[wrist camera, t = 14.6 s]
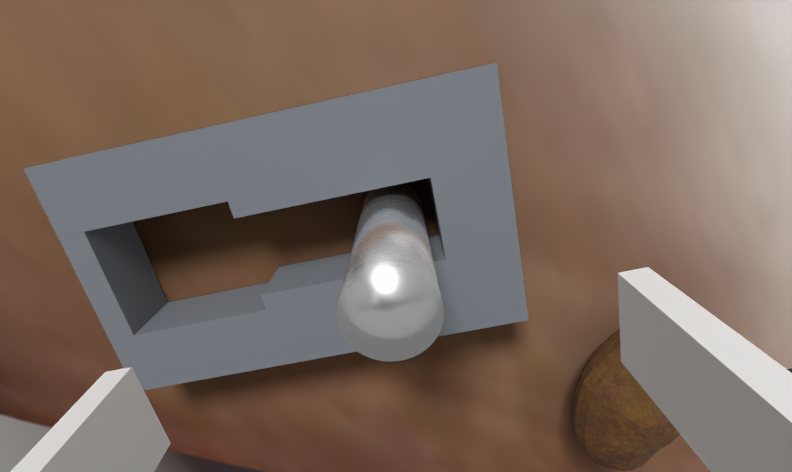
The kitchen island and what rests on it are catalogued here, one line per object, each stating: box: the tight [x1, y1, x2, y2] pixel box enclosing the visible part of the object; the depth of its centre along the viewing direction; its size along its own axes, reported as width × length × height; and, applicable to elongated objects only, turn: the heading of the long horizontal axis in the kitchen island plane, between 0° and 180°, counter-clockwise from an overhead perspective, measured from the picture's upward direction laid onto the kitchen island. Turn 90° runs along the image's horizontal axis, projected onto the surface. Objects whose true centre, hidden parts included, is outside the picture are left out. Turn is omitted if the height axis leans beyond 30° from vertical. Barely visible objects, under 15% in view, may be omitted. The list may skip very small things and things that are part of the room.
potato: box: [572, 329, 680, 471], centre depth 27 cm, size 7×12×7 cm, turn 170°
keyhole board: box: [24, 63, 528, 390], centre depth 25 cm, size 24×14×4 cm, turn 102°
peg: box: [337, 183, 444, 362], centre depth 21 cm, size 4×4×13 cm
